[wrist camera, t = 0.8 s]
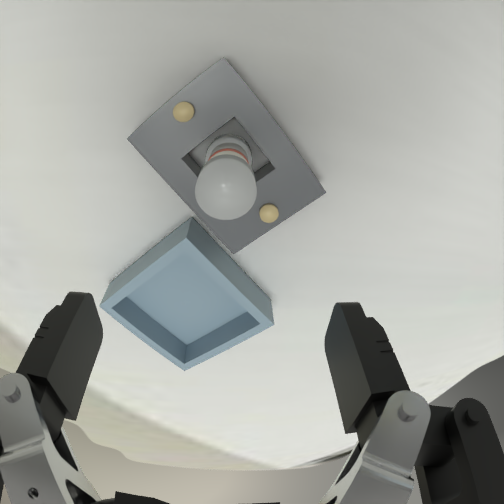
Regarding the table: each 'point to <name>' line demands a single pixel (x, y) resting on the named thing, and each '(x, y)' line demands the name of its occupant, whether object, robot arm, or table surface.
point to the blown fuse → (226, 179)
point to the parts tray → (188, 298)
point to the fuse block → (207, 122)
